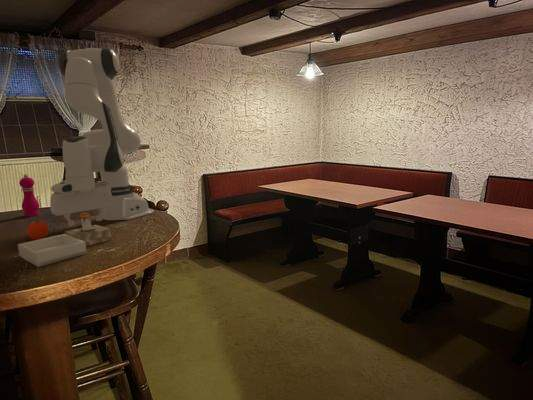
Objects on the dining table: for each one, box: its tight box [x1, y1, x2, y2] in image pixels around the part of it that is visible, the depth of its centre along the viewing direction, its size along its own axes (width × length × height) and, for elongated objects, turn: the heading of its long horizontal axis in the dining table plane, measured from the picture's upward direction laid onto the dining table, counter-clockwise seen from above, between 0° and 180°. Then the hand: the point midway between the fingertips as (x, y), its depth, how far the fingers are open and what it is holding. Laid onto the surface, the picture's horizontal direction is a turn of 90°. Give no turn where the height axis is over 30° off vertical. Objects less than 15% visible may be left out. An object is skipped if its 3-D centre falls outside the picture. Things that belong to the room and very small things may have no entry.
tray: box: [17, 233, 88, 268], centre depth 119 cm, size 14×16×4 cm
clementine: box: [26, 220, 50, 241], centre depth 138 cm, size 8×7×7 cm
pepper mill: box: [18, 173, 40, 218], centre depth 180 cm, size 7×7×20 cm
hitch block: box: [64, 224, 112, 247], centre depth 134 cm, size 11×11×4 cm
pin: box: [80, 212, 92, 232], centre depth 133 cm, size 3×3×10 cm
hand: (85, 223), depth 133 cm, fingers open, 8 cm apart
